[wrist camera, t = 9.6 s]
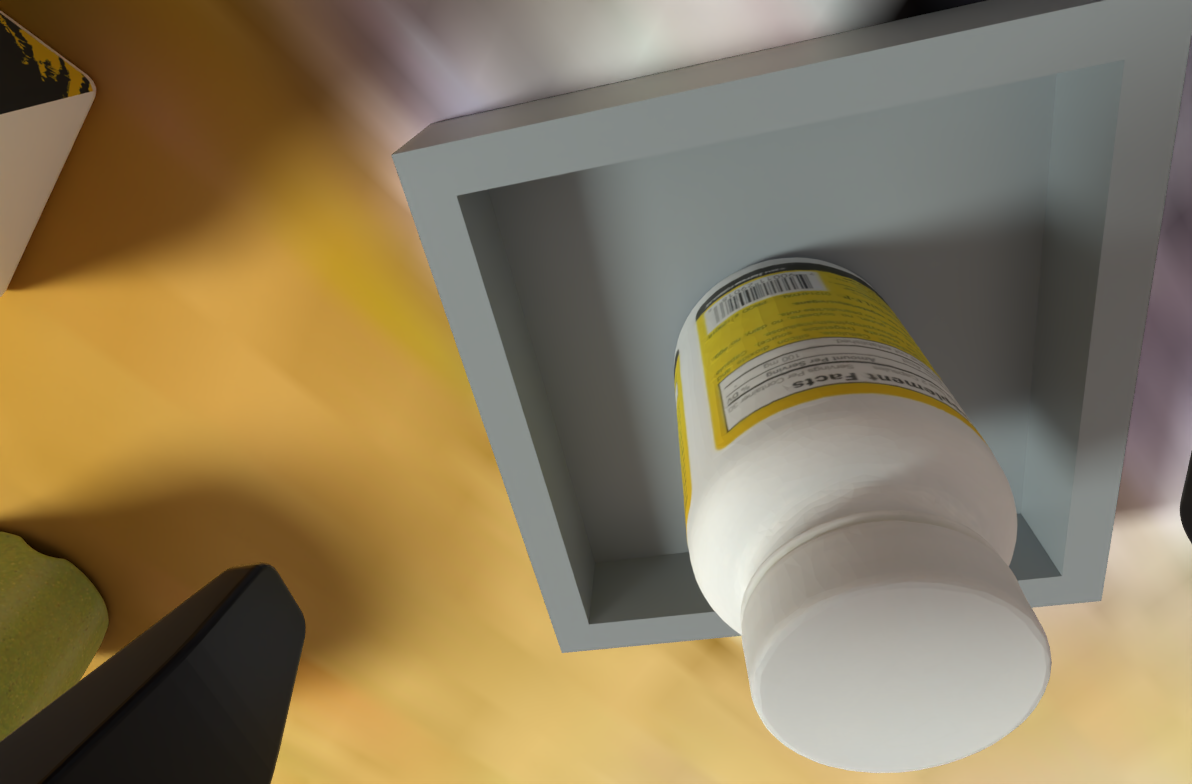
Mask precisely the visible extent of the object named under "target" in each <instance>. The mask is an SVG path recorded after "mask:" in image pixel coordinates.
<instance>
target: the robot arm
mask: <svg viewBox="0 0 1192 784" xmlns="http://www.w3.org/2000/svg"><path fill="white" fill-rule="evenodd" d="M1180 517H1181V521H1182V525H1183V528H1184V530H1185V532H1186V534H1187V536H1188V538H1189V540H1190V541H1191V543H1192V452H1191V457H1190V461H1189V466H1188V471H1187V475H1186V480H1185V484H1184V489H1183V493H1182V498H1181V502H1180ZM304 639H305V620H304V616H303V613H302V611H301V610H300V608H299V606H298V605H297V603H296V601H295V600H294V598H293V596H292V595H291V593H290V591H289V590H288V588H287V586H286V585H285V583H284V581H283V580H282V578H281V577H280V575H279V573H278V572H277V570H276V569H275V568H274V567H272V566H271V565H269V564H267V563H255V564H248V565H240V566H235V567H232V568H229V569H227V570H226V571H224V572H223V573H221V574H220V575H219V576H218V577H216V578H215V579H214V580H212V581H211V582H210V583H208V584H207V585H206V586H204V587H203V588H202V589H200V590H199V591H198V592H196V593H195V594H194V595H192V596H191V597H190V598H189V599H187V600H186V601H185V602H183V603H182V604H181V605H179V606H178V607H177V608H175V609H174V610H173V611H171V612H170V613H169V614H167V615H166V616H165V617H163V618H162V619H161V620H160V621H158V622H157V623H156V624H154V625H153V626H152V627H150V628H149V629H148V630H146V631H145V632H144V633H142V634H141V635H140V636H138V637H137V638H136V639H135V640H133V641H132V642H131V643H129V644H128V645H127V646H125V647H124V648H123V649H121V650H120V651H119V652H117V653H116V654H115V655H113V656H112V657H111V658H109V659H108V660H107V661H106V662H104V663H103V664H102V665H100V666H99V667H98V668H96V669H95V670H94V671H92V672H91V673H90V674H88V675H87V676H86V677H84V678H83V679H82V680H81V681H79V682H78V683H77V684H75V685H74V686H73V687H71V688H70V689H69V690H67V691H66V692H65V693H63V694H62V695H61V696H59V697H58V698H57V699H55V700H54V701H53V702H52V703H50V704H49V705H48V706H46V707H45V708H44V709H42V710H41V711H40V712H38V713H37V714H36V715H34V716H33V717H32V718H30V719H29V720H28V721H26V722H25V723H24V724H23V725H21V726H20V727H19V728H17V729H16V730H15V731H13V732H12V733H11V734H9V735H8V736H7V737H5V738H4V739H3V740H1V741H0V784H270V783H271V780H272V777H273V773H274V769H275V765H276V761H277V757H278V754H279V750H280V745H281V741H282V736H283V732H284V728H285V723H286V719H287V714H288V710H289V705H290V701H291V697H292V692H293V688H294V683H295V679H296V674H297V670H298V666H299V661H300V657H301V652H302V648H303V643H304Z"/></svg>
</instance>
